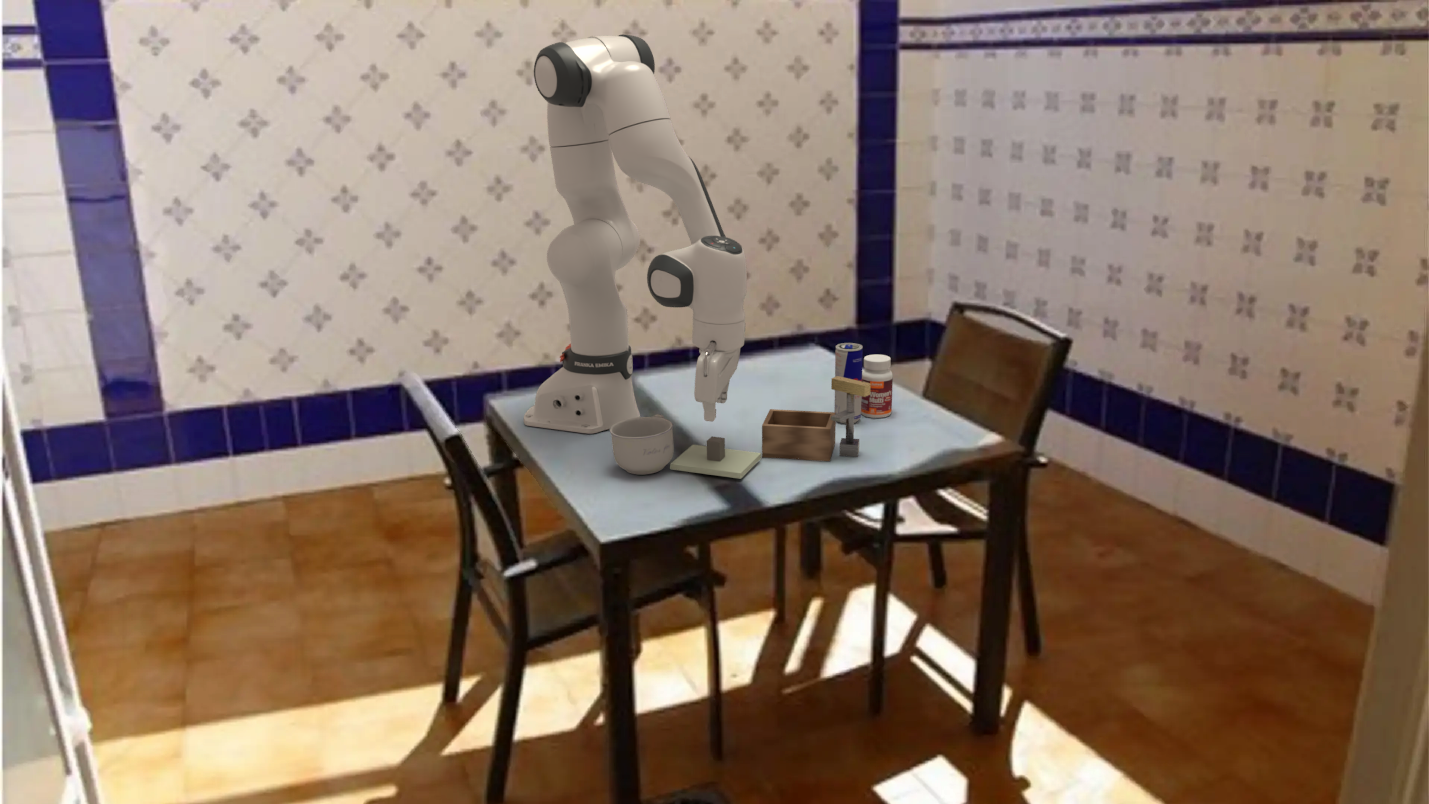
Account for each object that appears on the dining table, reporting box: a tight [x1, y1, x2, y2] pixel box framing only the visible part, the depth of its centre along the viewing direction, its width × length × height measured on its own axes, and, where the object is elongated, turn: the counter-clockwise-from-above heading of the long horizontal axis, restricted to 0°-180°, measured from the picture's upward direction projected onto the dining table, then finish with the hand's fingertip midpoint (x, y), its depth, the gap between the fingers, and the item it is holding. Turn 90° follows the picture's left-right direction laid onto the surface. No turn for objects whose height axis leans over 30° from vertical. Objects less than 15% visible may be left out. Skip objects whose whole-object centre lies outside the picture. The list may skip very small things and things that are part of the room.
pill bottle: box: [861, 354, 894, 419], centre depth 230 cm, size 6×6×11 cm
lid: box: [669, 436, 762, 479], centre depth 205 cm, size 13×10×5 cm
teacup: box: [609, 413, 675, 476], centre depth 206 cm, size 14×11×8 cm
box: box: [761, 408, 837, 462], centre depth 212 cm, size 12×9×6 cm
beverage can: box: [833, 342, 864, 425], centre depth 226 cm, size 5×5×15 cm
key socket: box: [839, 437, 860, 458], centre depth 211 cm, size 3×3×2 cm
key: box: [830, 376, 871, 442], centre depth 208 cm, size 5×7×11 cm
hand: (715, 410), depth 205 cm, fingers open, 8 cm apart
